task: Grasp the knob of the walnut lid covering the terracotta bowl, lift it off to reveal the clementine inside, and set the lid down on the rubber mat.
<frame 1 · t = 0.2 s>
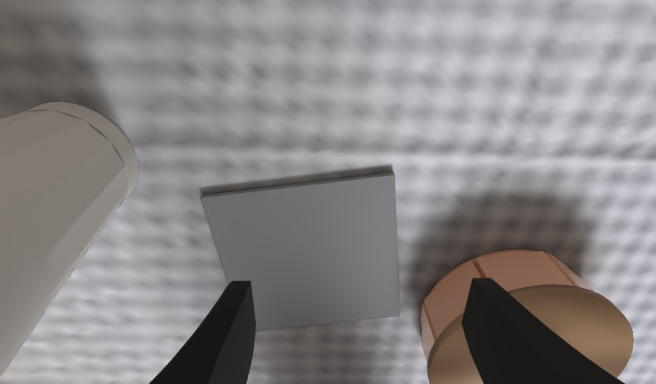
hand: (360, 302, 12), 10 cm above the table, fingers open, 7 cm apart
bowl: (497, 311, 27), on the table
cup: (80, 158, 20), on the table
mat: (310, 259, 24), on the table
lid: (523, 357, 23), point 4 cm above the table, touching bowl
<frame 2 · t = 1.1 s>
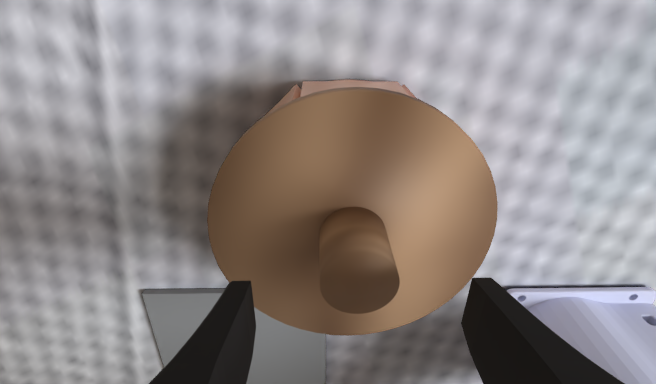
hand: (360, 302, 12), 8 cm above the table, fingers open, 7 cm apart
bowl: (345, 186, 20), on the table
mat: (244, 349, 25), on the table
lid: (351, 226, 16), point 4 cm above the table, touching bowl
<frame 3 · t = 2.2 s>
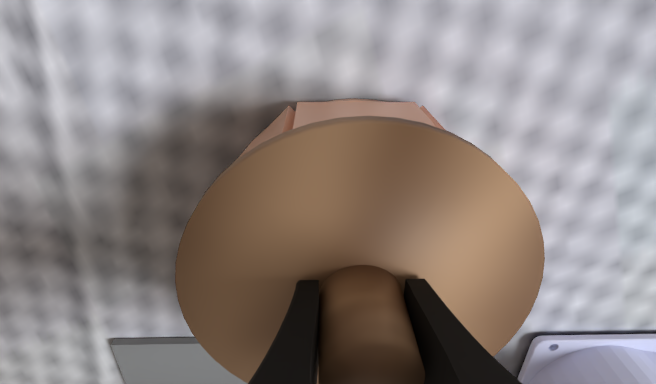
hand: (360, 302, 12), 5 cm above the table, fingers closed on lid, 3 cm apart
bowl: (349, 223, 16), on the table
lid: (358, 283, 13), point 4 cm above the table, touching bowl, gripper
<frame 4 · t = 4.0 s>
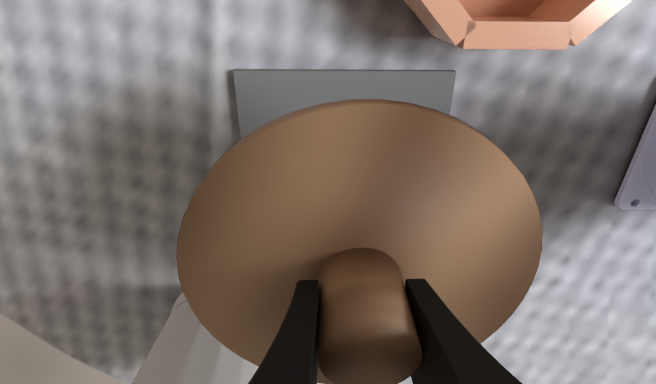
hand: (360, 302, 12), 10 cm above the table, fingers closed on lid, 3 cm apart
cup: (219, 314, 27), on the table
mat: (342, 169, 21), on the table
lid: (357, 265, 13), point 9 cm above the table, touching gripper
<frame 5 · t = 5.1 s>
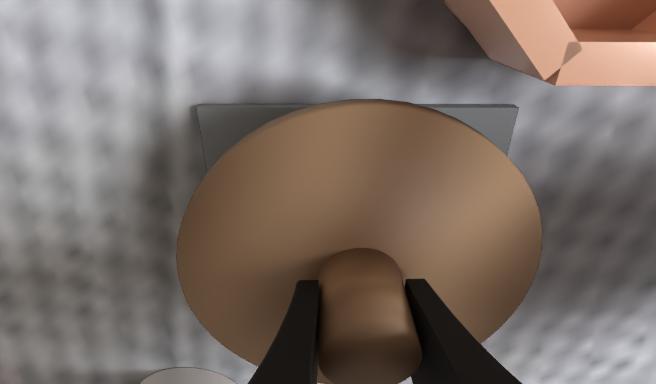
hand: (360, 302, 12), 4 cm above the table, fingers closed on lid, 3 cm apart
mat: (352, 234, 16), on the table
lid: (357, 265, 13), point 3 cm above the table, touching gripper
when the fingers open (2 cm above the table, at t = 5.8 s): lid stays where it is, resting on mat.
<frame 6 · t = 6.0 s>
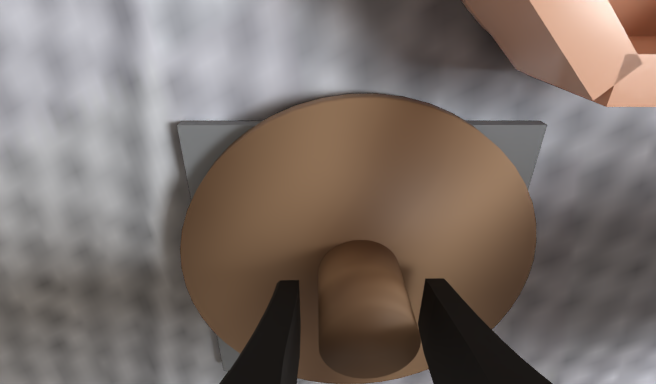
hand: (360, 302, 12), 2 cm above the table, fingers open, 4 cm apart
mat: (355, 263, 14), on the table
lid: (356, 260, 14), resting on mat
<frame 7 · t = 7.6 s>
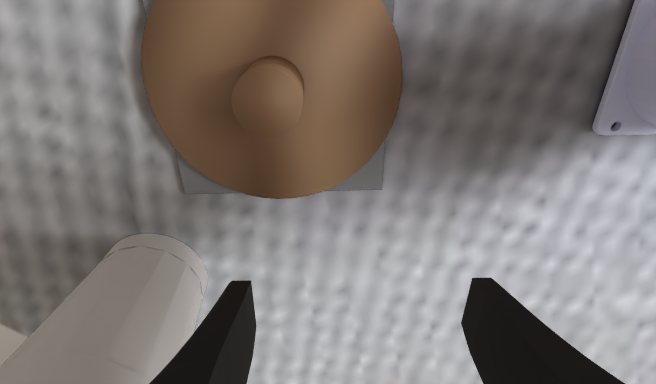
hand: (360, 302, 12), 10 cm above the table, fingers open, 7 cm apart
cup: (158, 272, 24), on the table
mat: (277, 91, 19), on the table
lid: (275, 83, 18), resting on mat
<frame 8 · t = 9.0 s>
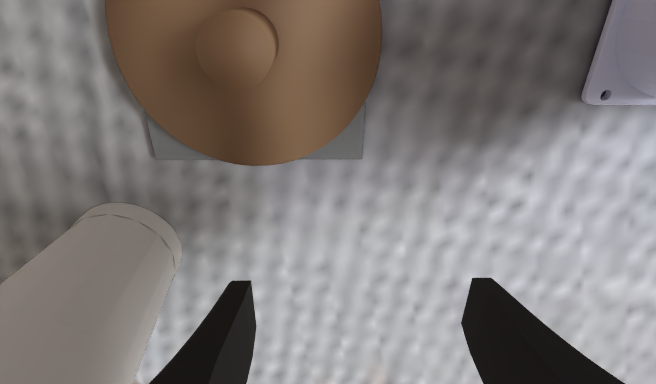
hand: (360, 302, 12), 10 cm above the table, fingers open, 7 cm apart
cup: (131, 245, 23), on the table
mat: (251, 49, 18), on the table
lid: (249, 40, 17), resting on mat
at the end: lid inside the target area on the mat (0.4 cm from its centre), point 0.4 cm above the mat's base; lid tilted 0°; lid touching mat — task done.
